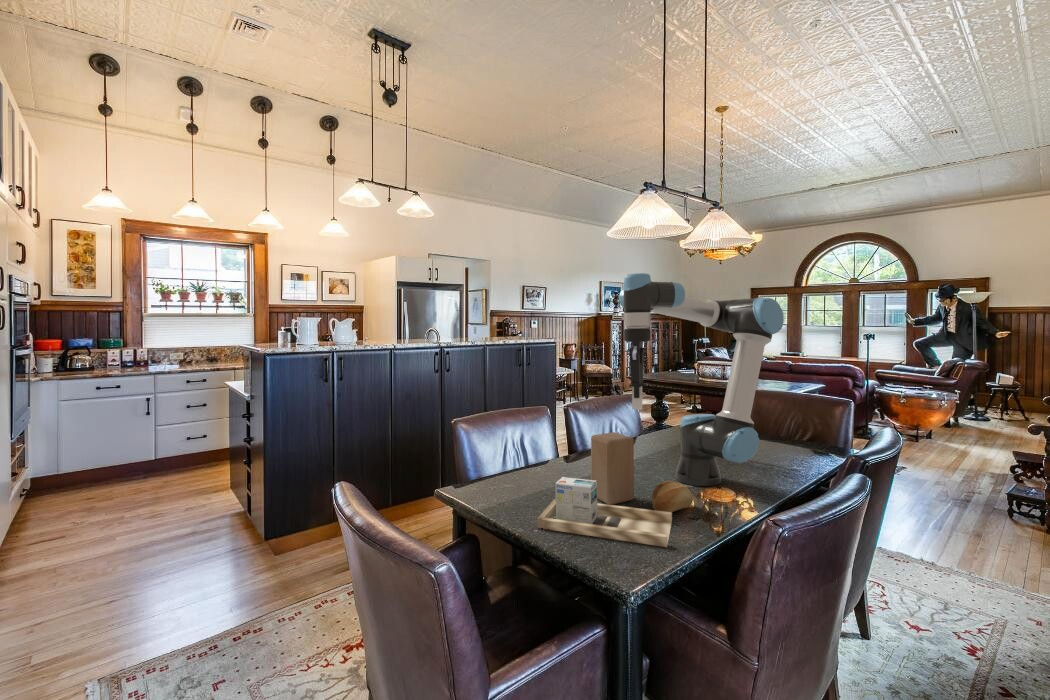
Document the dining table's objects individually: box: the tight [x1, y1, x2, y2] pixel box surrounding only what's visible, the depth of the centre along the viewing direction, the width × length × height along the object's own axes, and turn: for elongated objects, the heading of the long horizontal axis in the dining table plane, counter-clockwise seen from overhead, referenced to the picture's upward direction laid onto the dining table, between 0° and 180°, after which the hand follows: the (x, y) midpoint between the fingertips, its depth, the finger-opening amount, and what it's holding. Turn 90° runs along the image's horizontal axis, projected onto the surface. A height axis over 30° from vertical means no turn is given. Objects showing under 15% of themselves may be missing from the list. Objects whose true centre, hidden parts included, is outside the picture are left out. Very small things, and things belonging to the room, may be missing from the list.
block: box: [590, 431, 635, 505], centre depth 150 cm, size 10×10×20 cm
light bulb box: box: [554, 476, 598, 524], centre depth 135 cm, size 11×7×11 cm, turn 67°
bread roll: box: [651, 480, 694, 513], centre depth 141 cm, size 10×15×8 cm, turn 130°
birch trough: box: [536, 497, 673, 548], centre depth 131 cm, size 34×17×3 cm, turn 69°
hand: (637, 408), depth 139 cm, fingers closed
